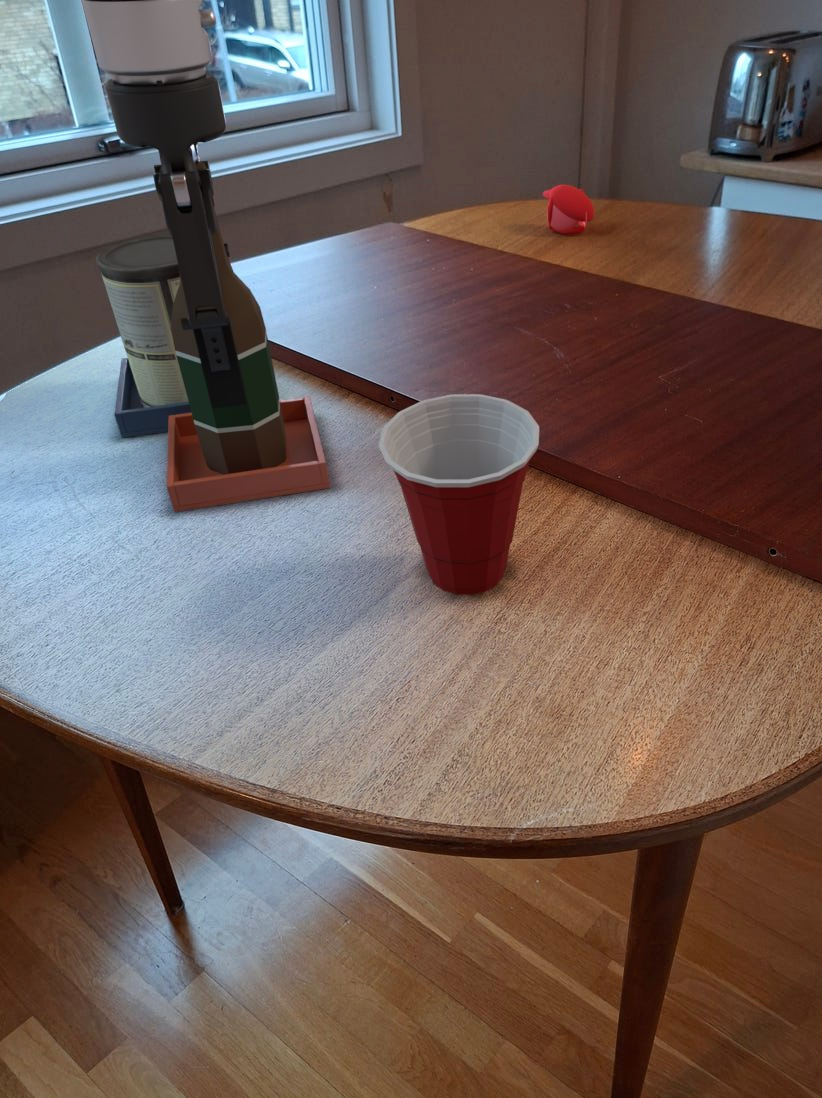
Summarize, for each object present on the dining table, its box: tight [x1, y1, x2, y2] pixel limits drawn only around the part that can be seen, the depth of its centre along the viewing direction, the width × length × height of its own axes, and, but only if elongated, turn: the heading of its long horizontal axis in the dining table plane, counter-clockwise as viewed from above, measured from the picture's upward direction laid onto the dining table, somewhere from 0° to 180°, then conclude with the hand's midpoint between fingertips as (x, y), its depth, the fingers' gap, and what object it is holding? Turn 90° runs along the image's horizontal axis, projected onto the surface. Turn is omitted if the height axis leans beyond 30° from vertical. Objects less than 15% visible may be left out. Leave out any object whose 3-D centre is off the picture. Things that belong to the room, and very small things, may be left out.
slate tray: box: [113, 357, 192, 439], centre depth 89 cm, size 13×13×2 cm
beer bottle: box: [159, 161, 287, 475], centre depth 71 cm, size 8×8×24 cm
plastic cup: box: [378, 393, 540, 596], centre depth 62 cm, size 11×11×12 cm
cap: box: [542, 184, 595, 235], centre depth 126 cm, size 8×6×6 cm
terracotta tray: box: [166, 395, 331, 513], centre depth 79 cm, size 13×13×2 cm
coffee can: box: [95, 233, 189, 408], centre depth 85 cm, size 10×10×14 cm
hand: (226, 369), depth 74 cm, fingers open, 13 cm apart
